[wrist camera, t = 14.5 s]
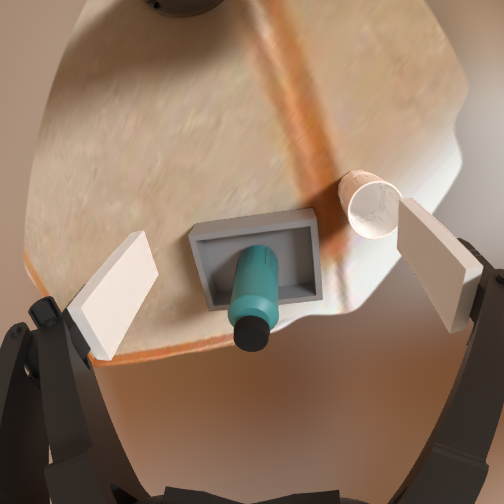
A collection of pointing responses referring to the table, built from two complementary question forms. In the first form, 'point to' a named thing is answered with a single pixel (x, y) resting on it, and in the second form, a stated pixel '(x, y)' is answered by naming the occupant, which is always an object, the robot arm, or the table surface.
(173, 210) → the table surface
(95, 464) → the robot arm
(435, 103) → the table surface
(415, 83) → the table surface
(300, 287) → the trough tray
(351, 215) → the white cup
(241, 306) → the beverage bottle
